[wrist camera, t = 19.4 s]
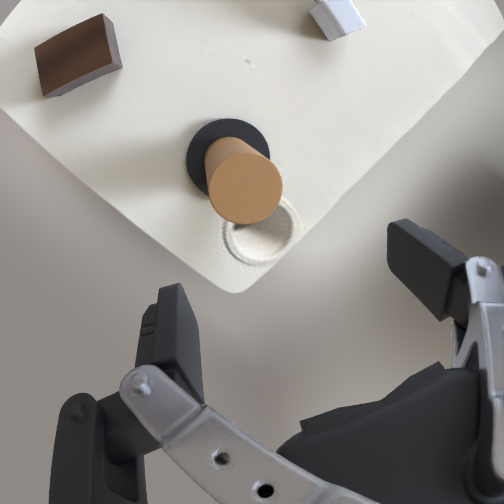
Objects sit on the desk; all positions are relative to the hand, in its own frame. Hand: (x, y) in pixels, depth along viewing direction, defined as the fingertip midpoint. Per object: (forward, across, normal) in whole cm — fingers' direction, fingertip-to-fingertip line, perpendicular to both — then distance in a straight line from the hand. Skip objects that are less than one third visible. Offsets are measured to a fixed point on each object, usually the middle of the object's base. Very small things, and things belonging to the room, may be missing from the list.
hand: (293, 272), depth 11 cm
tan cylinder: (+21, 0, +4) cm, 22 cm away
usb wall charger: (+24, -15, -15) cm, 32 cm away
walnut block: (+24, +12, -16) cm, 31 cm away
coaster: (+24, 0, 0) cm, 24 cm away
